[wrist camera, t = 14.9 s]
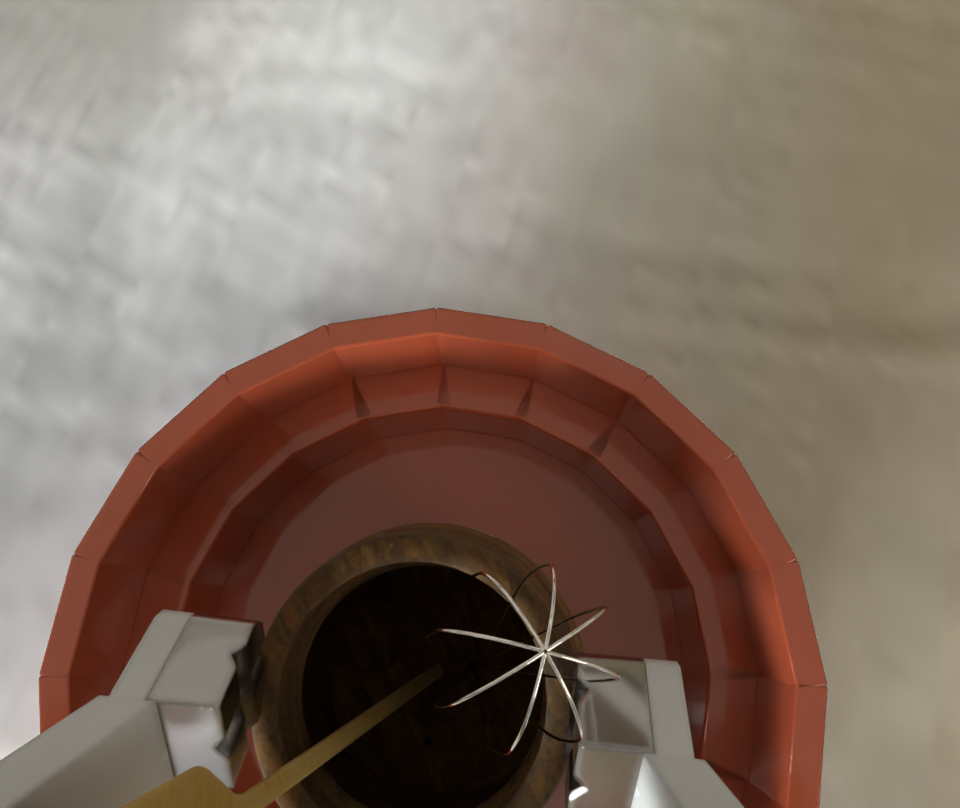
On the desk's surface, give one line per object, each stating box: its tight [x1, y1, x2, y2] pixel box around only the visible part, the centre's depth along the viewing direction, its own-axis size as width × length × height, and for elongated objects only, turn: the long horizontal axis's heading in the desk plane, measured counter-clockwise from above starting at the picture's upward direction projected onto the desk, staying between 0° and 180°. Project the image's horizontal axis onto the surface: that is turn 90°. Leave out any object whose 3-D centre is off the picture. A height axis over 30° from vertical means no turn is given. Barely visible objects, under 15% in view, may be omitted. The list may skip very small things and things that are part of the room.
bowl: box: [39, 308, 827, 808], centre depth 18 cm, size 15×15×6 cm
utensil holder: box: [120, 523, 621, 808], centre depth 13 cm, size 6×6×12 cm
